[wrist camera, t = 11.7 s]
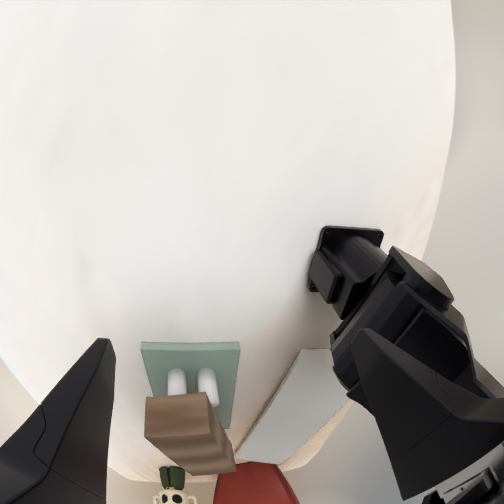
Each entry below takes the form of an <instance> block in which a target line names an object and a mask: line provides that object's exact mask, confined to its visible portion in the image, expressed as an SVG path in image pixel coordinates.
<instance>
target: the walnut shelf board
mask: <svg viewBox="0 0 504 504" xmlns="http://www.w3.org/2000/svg"><path fill="white" fill-rule="evenodd" d="M144 437H145V438H146V439H147V440H148V441H149V442H151V443H152V444H153V445H154V446H155V447H156V448H158V449H159V450H160V451H161V452H162V453H164V454H165V455H166V456H167V457H169V458H170V459H171V460H172V461H174V462H175V463H176V464H177V465H179V466H180V467H181V468H183V469H184V470H185V471H187V472H188V473H190V474H191V475H192V476H198V475H211V474H221V473H230V472H237V471H236V466H235V461H234V455H233V450H232V444H231V442H230V441H229V439H228V437H227V435H226V433H225V431H224V429H223V427H222V425H221V423H220V421H219V419H218V417H217V415H216V413H215V411H214V409H213V407H212V405H211V402H210V400H209V398H208V396H207V394H206V392H198V393H190V394H180V395H170V396H157V397H146V406H145V432H144Z"/></svg>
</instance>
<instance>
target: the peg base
mask: <svg viewBox="0 0 504 504" xmlns="http://www.w3.org/2000/svg"><path fill="white" fill-rule="evenodd" d="M141 353H142V357H143V360H144V364H145V368H146V372H147V375H148V379H149V382H150V386H151V389H152V392H153V396H154V397H157V396H170V395H180V394H190V393H198V392H206V394H207V396H208V398H209V400H210V402H211V405H212V407H213V409H214V411H215V413H216V415H217V417H218V419H219V421H220V423H221V425H222V427H223V429H228V428H229V427H230V420H231V412H232V405H233V398H234V390H235V383H236V376H237V368H238V361H239V353H240V346H239V342H227V343H154V342H142V343H141Z"/></svg>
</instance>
